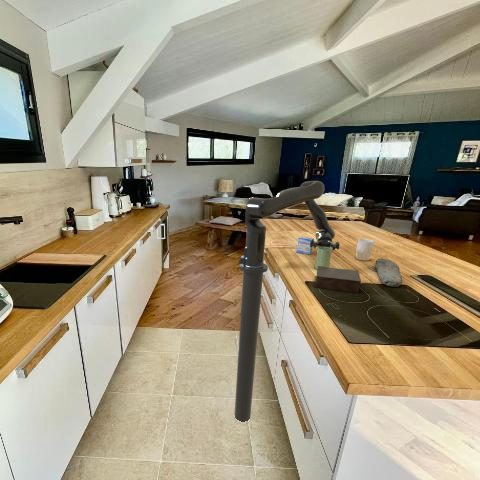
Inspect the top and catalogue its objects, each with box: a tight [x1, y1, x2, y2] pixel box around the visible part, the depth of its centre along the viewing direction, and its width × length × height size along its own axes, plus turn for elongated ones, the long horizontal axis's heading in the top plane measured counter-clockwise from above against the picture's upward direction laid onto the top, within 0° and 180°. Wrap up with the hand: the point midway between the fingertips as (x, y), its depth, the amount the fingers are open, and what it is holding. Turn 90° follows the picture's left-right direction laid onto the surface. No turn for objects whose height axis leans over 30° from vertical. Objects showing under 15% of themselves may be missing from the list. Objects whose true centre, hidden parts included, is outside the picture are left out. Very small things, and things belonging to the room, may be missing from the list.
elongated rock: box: [374, 257, 403, 288], centre depth 142 cm, size 35×5×10 cm
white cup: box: [355, 238, 376, 262], centre depth 165 cm, size 8×8×10 cm
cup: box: [314, 247, 333, 270], centre depth 150 cm, size 6×6×10 cm
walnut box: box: [314, 266, 362, 294], centre depth 131 cm, size 16×14×5 cm
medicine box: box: [295, 236, 315, 256], centre depth 177 cm, size 8×4×9 cm, turn 55°
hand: (324, 247), depth 158 cm, fingers open, 8 cm apart
